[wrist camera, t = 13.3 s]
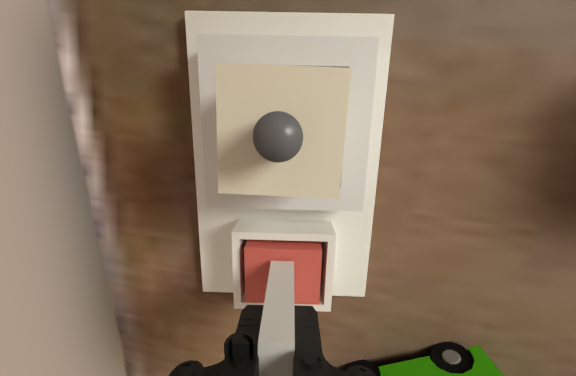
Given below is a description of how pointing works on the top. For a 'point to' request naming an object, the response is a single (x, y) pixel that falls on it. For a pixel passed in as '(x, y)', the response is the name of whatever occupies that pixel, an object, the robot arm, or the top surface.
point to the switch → (300, 252)
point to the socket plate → (280, 209)
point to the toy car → (440, 363)
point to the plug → (281, 129)
